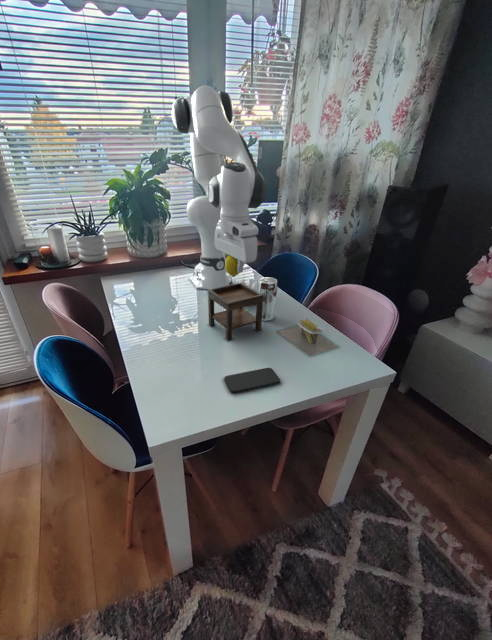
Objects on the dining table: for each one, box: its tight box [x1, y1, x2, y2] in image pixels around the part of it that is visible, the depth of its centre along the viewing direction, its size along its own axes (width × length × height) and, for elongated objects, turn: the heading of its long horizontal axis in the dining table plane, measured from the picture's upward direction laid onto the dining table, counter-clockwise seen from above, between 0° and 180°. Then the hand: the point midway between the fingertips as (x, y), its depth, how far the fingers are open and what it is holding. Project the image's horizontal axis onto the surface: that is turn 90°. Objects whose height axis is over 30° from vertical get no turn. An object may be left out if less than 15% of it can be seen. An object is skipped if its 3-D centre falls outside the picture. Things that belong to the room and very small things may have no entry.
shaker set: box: [238, 279, 259, 292], centre depth 134 cm, size 12×4×11 cm, turn 114°
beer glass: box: [258, 276, 278, 322], centre depth 123 cm, size 7×7×15 cm
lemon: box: [225, 255, 240, 278], centre depth 107 cm, size 6×6×8 cm
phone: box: [223, 367, 281, 394], centre depth 93 cm, size 7×1×15 cm
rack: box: [207, 282, 263, 342], centre depth 116 cm, size 14×14×14 cm
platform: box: [277, 318, 338, 357], centre depth 111 cm, size 12×18×7 cm, turn 27°
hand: (233, 269), depth 107 cm, fingers closed on lemon, 5 cm apart
